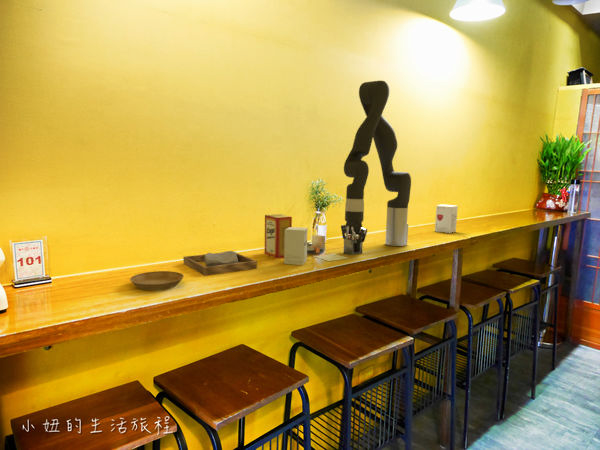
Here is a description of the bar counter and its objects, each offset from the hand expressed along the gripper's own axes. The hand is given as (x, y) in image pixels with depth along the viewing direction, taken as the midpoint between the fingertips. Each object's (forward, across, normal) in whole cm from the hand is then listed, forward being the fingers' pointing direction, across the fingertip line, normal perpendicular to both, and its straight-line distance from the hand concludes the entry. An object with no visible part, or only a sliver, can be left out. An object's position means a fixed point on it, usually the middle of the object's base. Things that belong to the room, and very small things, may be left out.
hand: (352, 251), depth 173 cm
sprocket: (+1, +12, +14) cm, 18 cm away
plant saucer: (+1, -5, +81) cm, 81 cm away
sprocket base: (+1, +12, +14) cm, 18 cm away
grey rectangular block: (+1, 0, 0) cm, 1 cm away
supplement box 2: (+1, +17, -85) cm, 87 cm away
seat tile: (+1, -2, +14) cm, 14 cm away
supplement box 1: (+1, -2, +30) cm, 30 cm away
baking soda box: (+1, +12, +29) cm, 31 cm away
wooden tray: (+1, +7, +56) cm, 56 cm away
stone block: (+1, +9, +54) cm, 55 cm away
